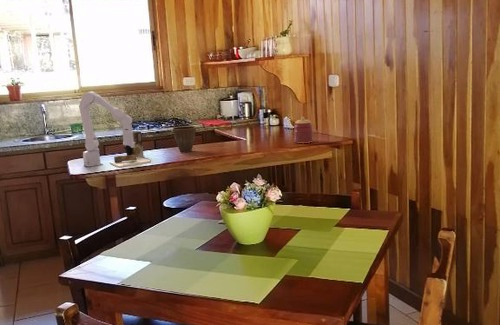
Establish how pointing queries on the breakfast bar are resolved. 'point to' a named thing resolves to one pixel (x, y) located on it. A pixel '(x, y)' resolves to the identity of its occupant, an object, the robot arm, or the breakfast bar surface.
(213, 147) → the breakfast bar surface
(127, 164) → the dial board
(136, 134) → the coffee box
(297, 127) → the canister
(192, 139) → the plant pot
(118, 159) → the tuning peg
